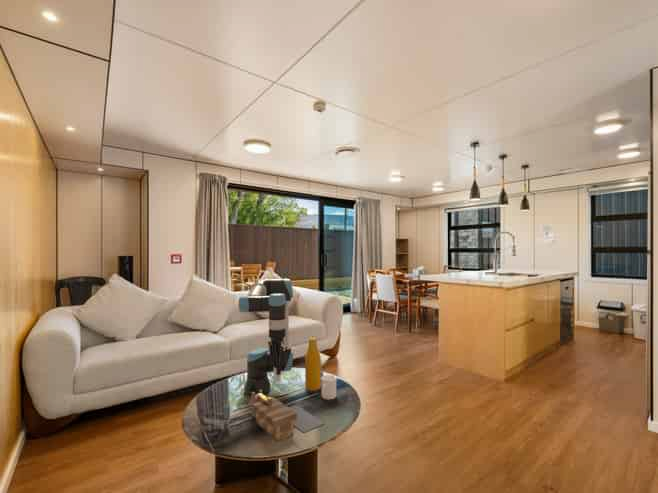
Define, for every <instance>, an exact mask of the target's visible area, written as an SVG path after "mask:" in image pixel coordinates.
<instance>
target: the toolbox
mask: <svg viewBox="0 0 658 493" xmlns="http://www.w3.org/2000/svg"><path fill="white" fill-rule="evenodd" d="M259 393H262V394H263V391H262V390H259ZM263 395H264V394H263ZM260 401H262V400H261V399H259V398H258V397H257V395H255V393H254V392H252V396H251V416H252V417H253V418H254V419H255V423H256V424H257V425H258V426H259V427H261V428H262V429H263V430H264V431H265V432H266V433H267V434H268V435H269V436H271V437H272V438H274V440H275V441H276V442H280V441H281V440H284V439H287V438H288V437H291V436H294V426H293V421H292V422H290V423H287V424H285V425H282V426H280V427H277V428H274V427H272V426H271V425H270V424H269V423H268V422H266V421H265V420H264V419H263V418H261V417H260V416H259V415H258V414H257V413H255V412H254V411H253V404H254V403H257V402H260Z"/></svg>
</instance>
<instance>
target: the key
mask: <svg viewBox="0 0 658 493" xmlns="http://www.w3.org/2000/svg"><path fill="white" fill-rule="evenodd" d="M257 397H258V398H259V399H261V400H262V401H263V402H265V403H266V404H267V405H270V404H272V397H271V396H270V397H268V396H266V394H262V393H259V394H257Z"/></svg>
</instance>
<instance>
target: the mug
mask: <svg viewBox="0 0 658 493" xmlns="http://www.w3.org/2000/svg"><path fill="white" fill-rule="evenodd" d="M320 389H321V392H320V393H321V398H323V399H324V400H326V401H327V400H330V399H331V400H334V399H336V398H337V377H336V376H334V375H329V374H328V375H323V376H321V387H320Z"/></svg>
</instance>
